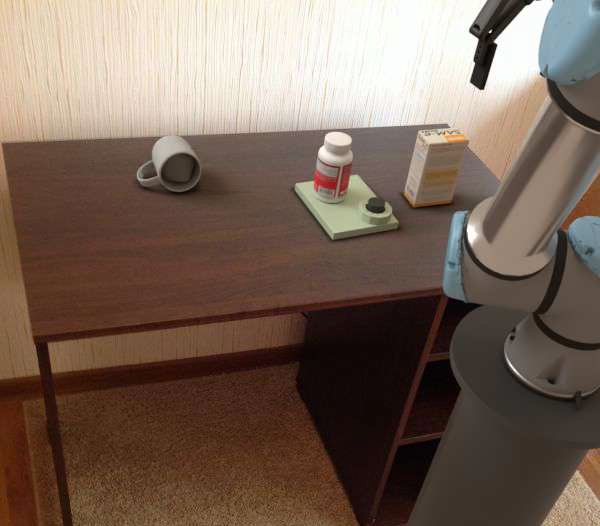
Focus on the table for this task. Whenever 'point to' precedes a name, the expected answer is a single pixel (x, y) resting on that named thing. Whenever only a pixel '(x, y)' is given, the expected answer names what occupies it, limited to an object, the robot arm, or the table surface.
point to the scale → (347, 211)
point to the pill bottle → (333, 168)
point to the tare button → (376, 205)
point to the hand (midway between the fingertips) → (512, 82)
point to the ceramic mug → (172, 165)
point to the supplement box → (435, 166)
